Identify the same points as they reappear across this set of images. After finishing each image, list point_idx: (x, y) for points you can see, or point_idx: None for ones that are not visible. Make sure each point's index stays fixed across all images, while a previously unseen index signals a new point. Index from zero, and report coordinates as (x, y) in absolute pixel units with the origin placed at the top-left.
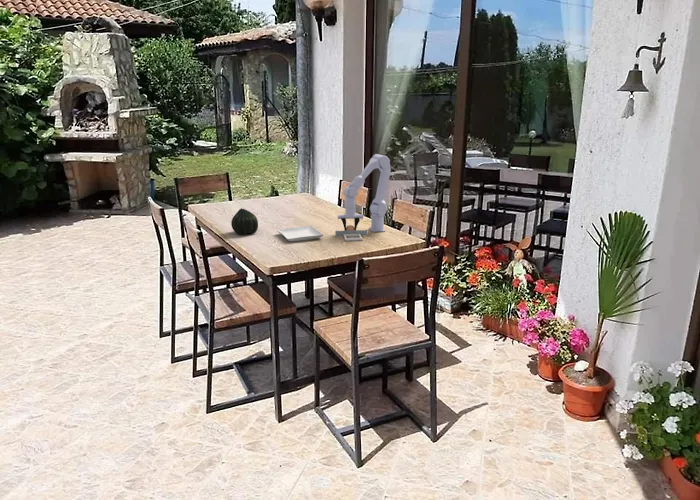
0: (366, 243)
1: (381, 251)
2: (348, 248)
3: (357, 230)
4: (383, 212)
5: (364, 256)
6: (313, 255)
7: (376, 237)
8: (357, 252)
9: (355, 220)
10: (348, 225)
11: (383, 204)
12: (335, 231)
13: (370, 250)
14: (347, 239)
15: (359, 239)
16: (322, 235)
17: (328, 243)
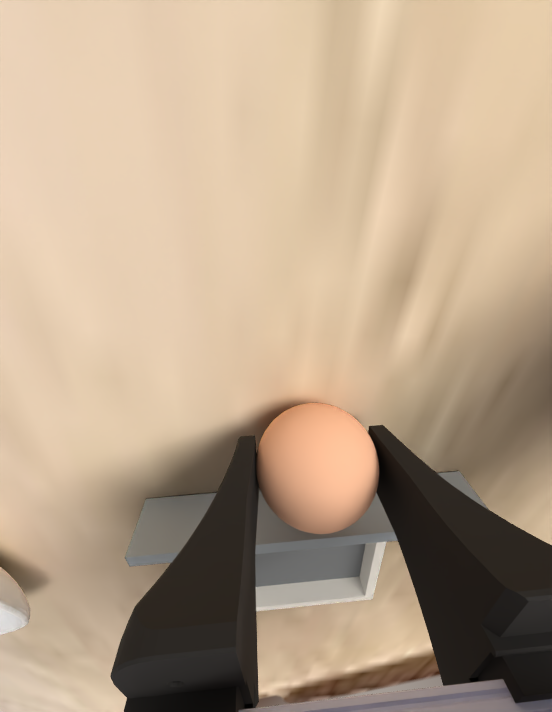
0: (376, 606)
1: (406, 664)
2: (257, 656)
3: (387, 535)
4: None
5: (317, 695)
6: (97, 709)
7: (505, 517)
8: (296, 678)
9: (445, 678)
10: (299, 514)
11: None
12: (127, 552)
13: (361, 662)
14: (259, 600)
15: (349, 588)
16: (26, 619)
17: (127, 620)
